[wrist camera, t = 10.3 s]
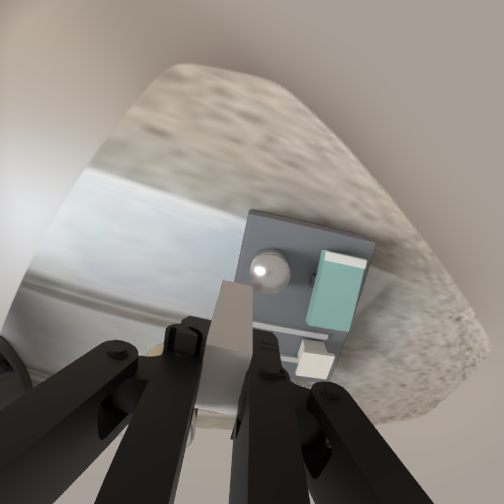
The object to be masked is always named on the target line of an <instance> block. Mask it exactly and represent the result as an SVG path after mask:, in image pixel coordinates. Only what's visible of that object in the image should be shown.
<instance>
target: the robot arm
mask: <svg viewBox="0 0 504 504" xmlns="http://www.w3.org/2000/svg"><path fill="white" fill-rule="evenodd" d="M279 351H280V350H279V343H278V338H277V337H276V336H275V335H274V334H273V332H269V331H264V330H259V329H253V286H249V285H244V284H240V283H235V282H230V281H226V280H223V282H222V286H221V289H220V293H219V296H218V300H217V304H216V307H215V311H214V314H213V318H212V321H211V320H206V319H202V318H198V317H193V316H188V317H186V318H185V319H183V320H182V322H181V324H173V325H170V326H168V327H167V328H166V331H165V339H164V348H163V352H162V354H161V355H159V356H138V350H137V349H136V347H135V346H133V345H132V344H130V343H128V342H124V341H121V340H111V341H106V342H104V343H101V344H100V345H98V346H97V347H95V348H94V349H92V350H91V351H89V352H88V353H86V354H85V355H83V356H82V357H80V358H79V359H77V360H75V361H74V362H72V363H71V364H69V365H68V366H66V367H65V368H63V369H62V370H60V371H59V372H57V373H56V374H54V375H53V376H51V377H50V378H48V379H47V380H45V381H44V382H42V383H41V384H39V385H38V386H36V387H34V388H33V389H32V387H31V382H30V378H29V375H28V373H27V371H26V369H25V367H24V365H23V363H22V361H21V360H20V358H19V357H18V355H17V354H16V352H15V351H14V350H13V349H12V347H11V346H10V345H9V344H8V343H7V342H6V341H5V340H4V339H2V338H1V337H0V504H53V503H54V502H55V501H56V500H57V499H58V498H59V497H60V495H62V494H63V493H64V491H66V489H68V487H69V486H70V485H71V484H72V483H73V482H74V481H75V480H76V479H77V478H78V477H79V476H80V475H81V474H82V473H83V472H84V471H85V470H86V469H87V468H88V467H89V466H90V464H92V462H93V461H94V460H95V459H96V458H97V457H98V456H99V455H100V454H101V453H102V452H103V451H104V450H105V448H107V446H109V444H110V443H111V442H112V441H113V440H114V439H115V438H116V437H117V436H118V435H119V434H120V433H121V432H122V431H123V429H124V428H125V427H126V426H127V425H128V424H129V425H128V427H127V429H126V431H125V433H124V436H123V438H122V440H121V442H120V445H119V447H118V449H117V452H116V454H115V456H114V458H113V461H112V463H111V465H110V467H109V470H108V472H107V474H106V477H105V479H104V481H103V484H102V486H101V488H100V491H99V493H98V496H97V498H96V500H95V503H94V504H174V499H175V495H176V490H177V485H178V481H179V476H180V472H181V467H182V463H183V458H184V453H185V448H186V444H187V440H188V436H189V431H190V427H191V422H192V418H193V412H194V408H199V409H203V410H208V411H213V412H218V413H223V414H229V415H234V416H236V413H237V409H238V413H237V418H236V421H235V425H234V428H233V432H232V435H231V439H233V451H232V466H231V479H230V493H229V504H310V499H309V492H310V494H311V496H312V498H313V500H314V503H315V504H434V503H433V502H432V500H431V499H430V498H429V497H428V495H427V494H426V493H425V491H424V490H423V489H422V488H421V486H420V485H419V484H418V482H417V481H416V480H415V479H414V477H413V476H412V475H411V473H410V472H409V471H408V470H407V468H406V467H405V466H404V465H403V463H402V462H401V461H400V459H399V458H398V457H397V455H396V454H395V453H394V451H393V450H392V449H391V448H390V446H389V445H388V444H387V443H386V441H385V440H384V439H383V437H382V436H381V435H380V433H379V432H378V431H377V429H376V428H375V427H374V425H373V424H372V423H371V422H370V420H369V419H368V418H367V416H366V415H365V414H364V412H363V411H362V410H361V408H360V407H359V406H358V405H357V403H356V402H355V401H354V399H353V398H352V397H351V395H350V394H349V393H348V392H347V391H346V390H345V389H344V388H343V387H341V386H340V385H338V384H336V383H333V382H326V381H321V382H316V383H315V384H313V386H312V388H311V390H310V389H307V388H304V387H301V386H299V385H296V384H294V383H293V382H291V381H290V376H289V374H288V372H287V371H286V370H285V369H284V368H283V367H282V363H281V357H280V352H279ZM308 490H309V492H308Z"/></svg>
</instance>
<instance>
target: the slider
mask: <svg viewBox="0 0 504 504" xmlns="http://www.w3.org/2000/svg"><path fill="white" fill-rule="evenodd" d="M334 358H335V355H334V354H333V353H327V350H326V347H325V344H324V342H320V341H314V340H308V339H302V342H301V345H300V348H299V351H298V360H299V363H298V366H297V369H296V372H295V373H296V375H297V376H304V377H311V378H318V379H327V376H328V374H329V371H330V369H331V366H332V363H333V361H334Z"/></svg>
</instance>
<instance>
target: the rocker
mask: <svg viewBox="0 0 504 504" xmlns="http://www.w3.org/2000/svg"><path fill="white" fill-rule="evenodd" d="M366 263H367V260H366V259H363V258H358V257H354V256H350V255H345V254H341V253H336V252H332V251H327V250H322V251H321V256H320V260H319V265H318V269H317V274H316V278H315V283H314V287H313V292H312V296H311V300H310V304H309V308H308V313H307V317H306V322H307V323H308V325H309V326H315V327H321V328H327V329H333V330H339V331H345V332H349V330H350V326H351V322H352V318H353V315H354V311H355V307H356V303H357V299H358V294H359V290H360V286H361V282H362V277H363V273H364V269H365V268H366Z"/></svg>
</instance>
